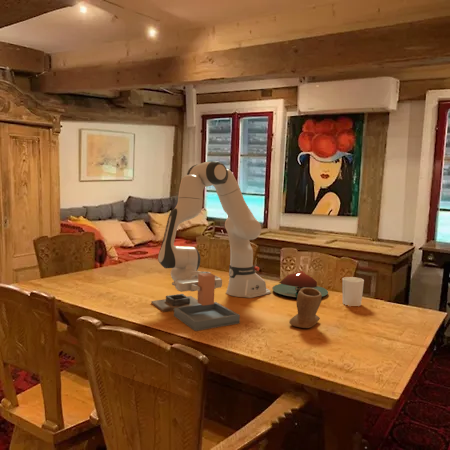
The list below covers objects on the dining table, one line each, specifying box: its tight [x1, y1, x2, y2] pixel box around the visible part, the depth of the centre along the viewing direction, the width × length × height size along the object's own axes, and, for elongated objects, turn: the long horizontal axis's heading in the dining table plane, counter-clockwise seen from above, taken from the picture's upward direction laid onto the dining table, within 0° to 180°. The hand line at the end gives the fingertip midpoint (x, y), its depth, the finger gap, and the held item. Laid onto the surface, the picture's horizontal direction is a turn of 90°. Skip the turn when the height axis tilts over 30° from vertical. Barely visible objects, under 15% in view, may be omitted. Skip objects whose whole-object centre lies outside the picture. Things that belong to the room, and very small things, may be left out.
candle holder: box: [342, 276, 365, 307], centre depth 219 cm, size 10×10×12 cm
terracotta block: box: [197, 272, 216, 305], centre depth 191 cm, size 5×5×12 cm
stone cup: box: [288, 288, 323, 329], centre depth 189 cm, size 15×12×15 cm
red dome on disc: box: [272, 270, 329, 298], centre depth 236 cm, size 28×28×11 cm
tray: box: [173, 301, 241, 332], centre depth 192 cm, size 20×20×4 cm
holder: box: [150, 293, 200, 313], centre depth 212 cm, size 20×14×4 cm
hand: (207, 288), depth 190 cm, fingers closed on terracotta block, 5 cm apart
